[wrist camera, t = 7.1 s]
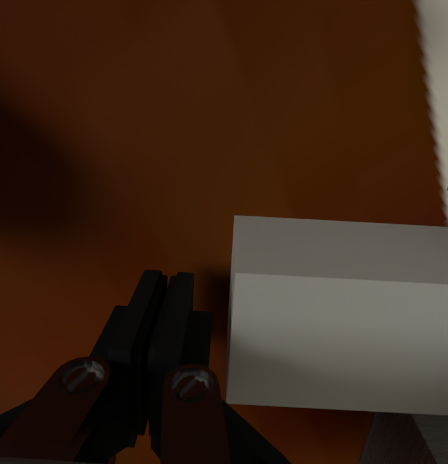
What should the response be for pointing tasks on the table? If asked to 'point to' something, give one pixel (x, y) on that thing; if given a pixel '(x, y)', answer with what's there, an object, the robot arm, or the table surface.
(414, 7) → the table surface
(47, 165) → the table surface
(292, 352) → the plug
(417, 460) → the panel
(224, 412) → the robot arm
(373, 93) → the table surface
